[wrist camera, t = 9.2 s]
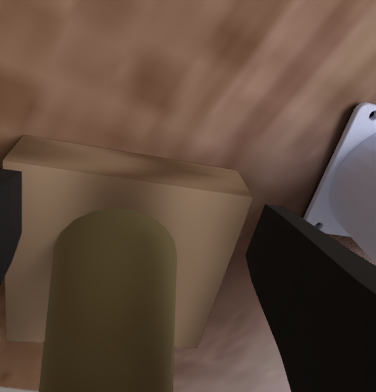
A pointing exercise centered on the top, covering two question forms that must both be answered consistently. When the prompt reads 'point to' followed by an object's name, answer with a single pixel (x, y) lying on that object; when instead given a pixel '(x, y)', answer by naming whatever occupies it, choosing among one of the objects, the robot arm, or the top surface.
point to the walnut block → (122, 199)
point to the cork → (111, 306)
